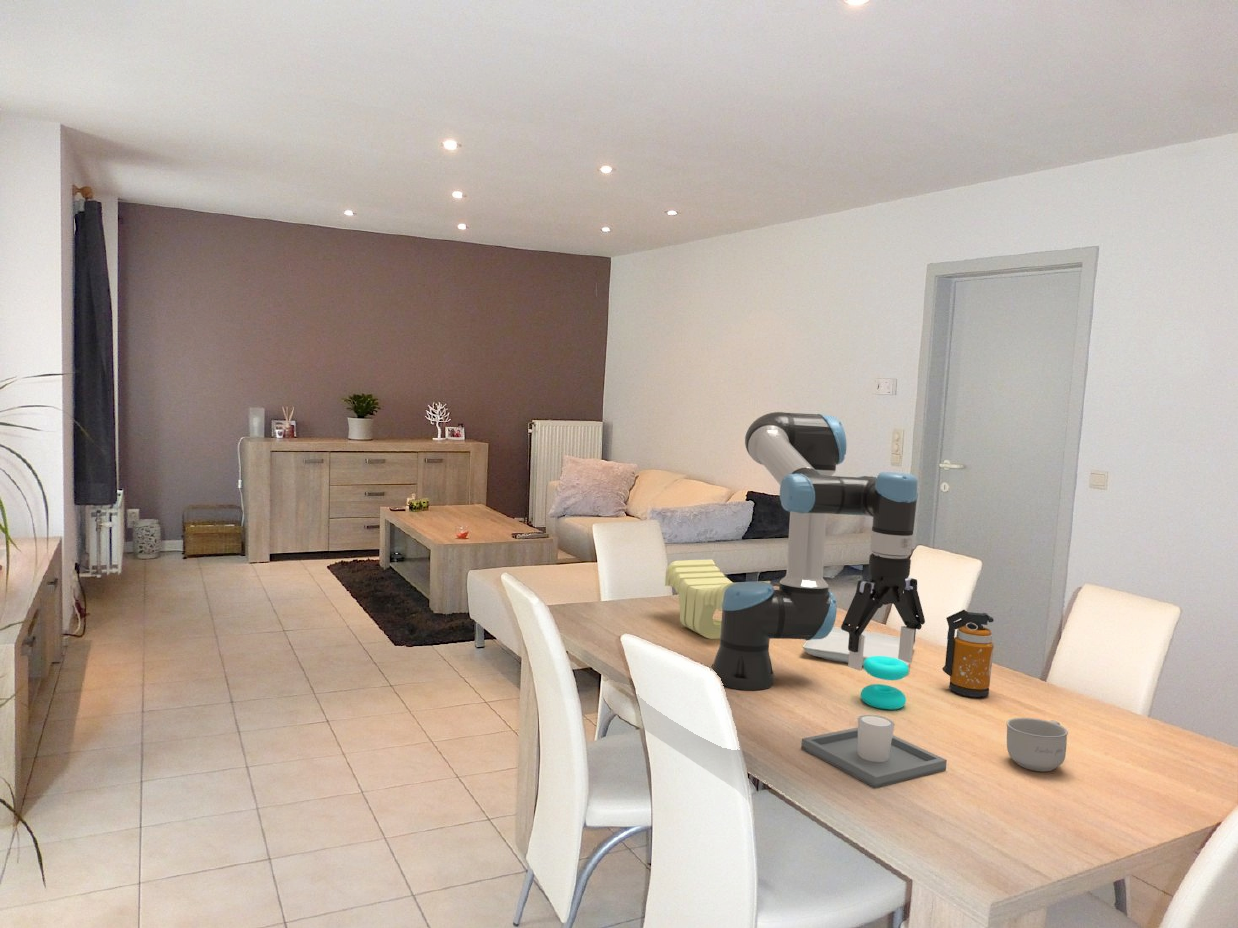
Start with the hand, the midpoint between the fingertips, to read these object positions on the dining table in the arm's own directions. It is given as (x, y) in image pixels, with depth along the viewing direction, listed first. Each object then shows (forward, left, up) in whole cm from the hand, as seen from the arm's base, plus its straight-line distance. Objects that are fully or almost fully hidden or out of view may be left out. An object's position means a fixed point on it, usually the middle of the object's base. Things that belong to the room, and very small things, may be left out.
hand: (880, 664), depth 172 cm
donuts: (-22, +27, -19) cm, 39 cm away
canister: (-20, +53, -19) cm, 60 cm away
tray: (0, 0, -19) cm, 19 cm away
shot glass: (0, 0, -18) cm, 18 cm away
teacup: (+15, +30, -19) cm, 39 cm away
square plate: (-53, +52, -19) cm, 76 cm away
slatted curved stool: (-85, +26, -19) cm, 91 cm away
